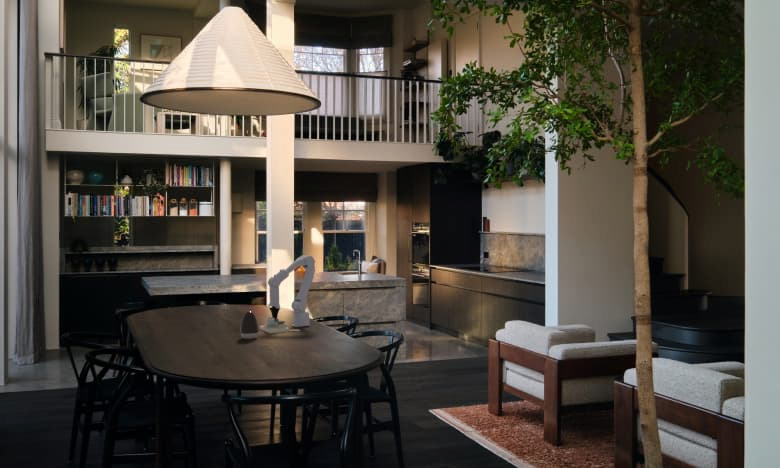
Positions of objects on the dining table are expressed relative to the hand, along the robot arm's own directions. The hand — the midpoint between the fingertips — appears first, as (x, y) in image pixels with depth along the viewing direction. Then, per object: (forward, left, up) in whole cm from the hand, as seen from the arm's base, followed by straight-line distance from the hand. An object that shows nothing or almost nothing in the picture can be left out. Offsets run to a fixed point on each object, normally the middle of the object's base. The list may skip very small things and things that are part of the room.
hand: (274, 319), depth 429 cm
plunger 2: (0, +11, -3) cm, 11 cm away
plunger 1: (0, 0, -3) cm, 3 cm away
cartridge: (+4, +5, -4) cm, 8 cm away
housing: (+2, +6, -6) cm, 9 cm away
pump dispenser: (+23, +26, -6) cm, 36 cm away
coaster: (-7, +15, -6) cm, 18 cm away
